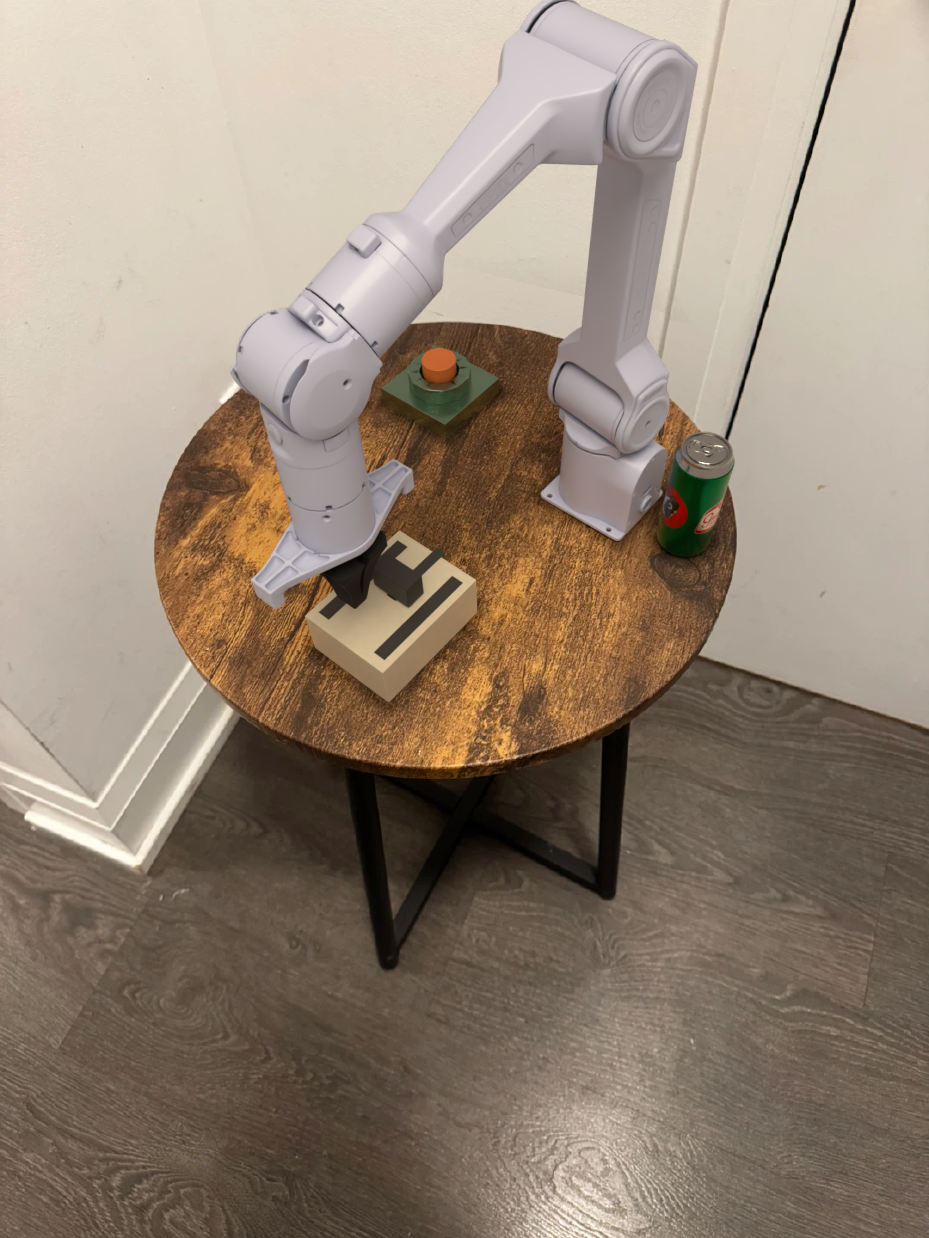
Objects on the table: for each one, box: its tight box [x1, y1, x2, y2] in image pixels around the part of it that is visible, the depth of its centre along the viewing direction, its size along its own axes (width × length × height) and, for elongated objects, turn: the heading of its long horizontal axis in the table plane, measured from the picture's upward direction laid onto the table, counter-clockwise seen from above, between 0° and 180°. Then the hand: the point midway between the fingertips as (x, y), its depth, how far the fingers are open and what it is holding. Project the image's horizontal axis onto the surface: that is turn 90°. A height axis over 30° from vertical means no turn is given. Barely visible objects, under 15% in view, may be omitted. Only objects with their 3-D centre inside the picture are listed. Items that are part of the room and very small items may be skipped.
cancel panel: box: [380, 344, 500, 440], centre depth 95 cm, size 9×9×4 cm
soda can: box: [656, 431, 736, 558], centre depth 80 cm, size 5×5×12 cm
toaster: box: [304, 530, 478, 703], centre depth 78 cm, size 9×13×5 cm
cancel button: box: [422, 347, 457, 384], centre depth 93 cm, size 4×4×2 cm
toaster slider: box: [373, 553, 424, 608], centre depth 75 cm, size 4×2×2 cm, turn 50°
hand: (352, 597), depth 71 cm, fingers closed
